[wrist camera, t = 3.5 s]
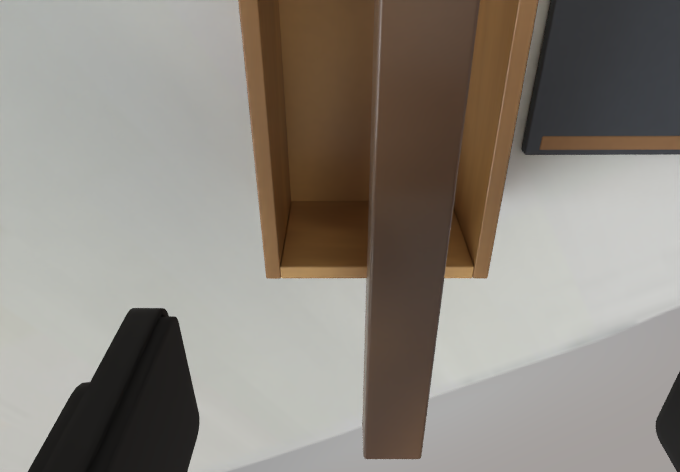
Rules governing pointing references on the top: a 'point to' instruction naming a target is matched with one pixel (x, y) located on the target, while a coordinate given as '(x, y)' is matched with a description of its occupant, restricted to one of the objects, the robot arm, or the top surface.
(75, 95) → the top surface
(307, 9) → the basket
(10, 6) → the top surface
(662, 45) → the felt mat
